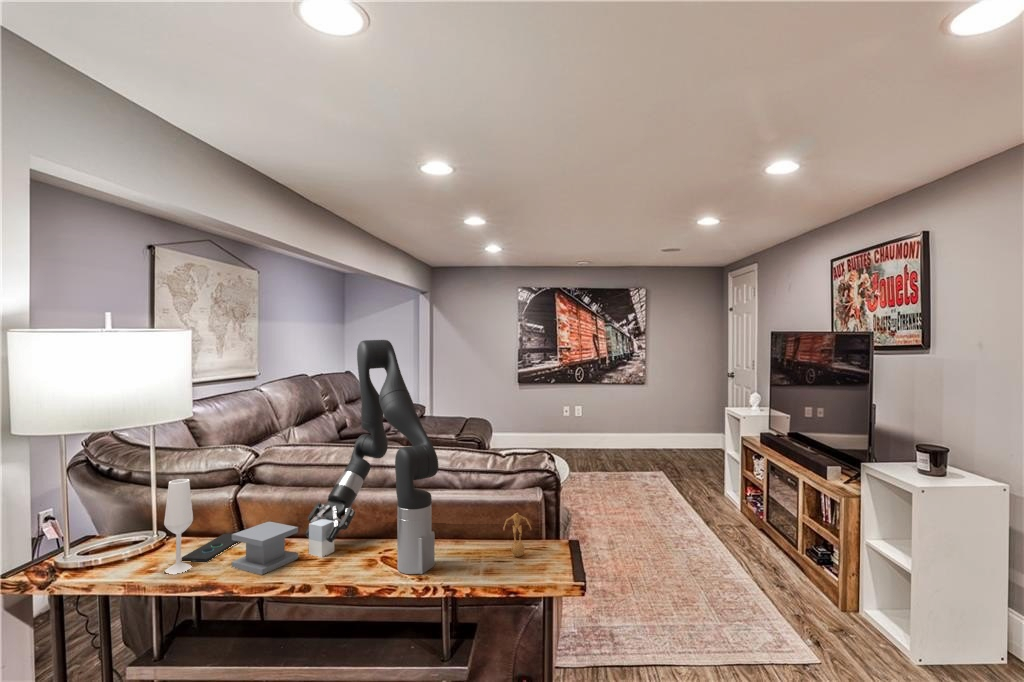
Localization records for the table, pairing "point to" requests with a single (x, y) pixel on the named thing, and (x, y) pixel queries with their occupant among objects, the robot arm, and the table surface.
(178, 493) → the champagne flute
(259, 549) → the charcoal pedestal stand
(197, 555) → the smart home device
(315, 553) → the block
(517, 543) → the figurine
